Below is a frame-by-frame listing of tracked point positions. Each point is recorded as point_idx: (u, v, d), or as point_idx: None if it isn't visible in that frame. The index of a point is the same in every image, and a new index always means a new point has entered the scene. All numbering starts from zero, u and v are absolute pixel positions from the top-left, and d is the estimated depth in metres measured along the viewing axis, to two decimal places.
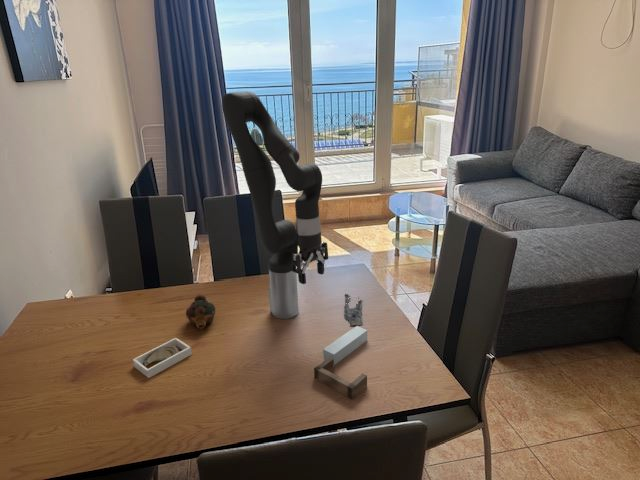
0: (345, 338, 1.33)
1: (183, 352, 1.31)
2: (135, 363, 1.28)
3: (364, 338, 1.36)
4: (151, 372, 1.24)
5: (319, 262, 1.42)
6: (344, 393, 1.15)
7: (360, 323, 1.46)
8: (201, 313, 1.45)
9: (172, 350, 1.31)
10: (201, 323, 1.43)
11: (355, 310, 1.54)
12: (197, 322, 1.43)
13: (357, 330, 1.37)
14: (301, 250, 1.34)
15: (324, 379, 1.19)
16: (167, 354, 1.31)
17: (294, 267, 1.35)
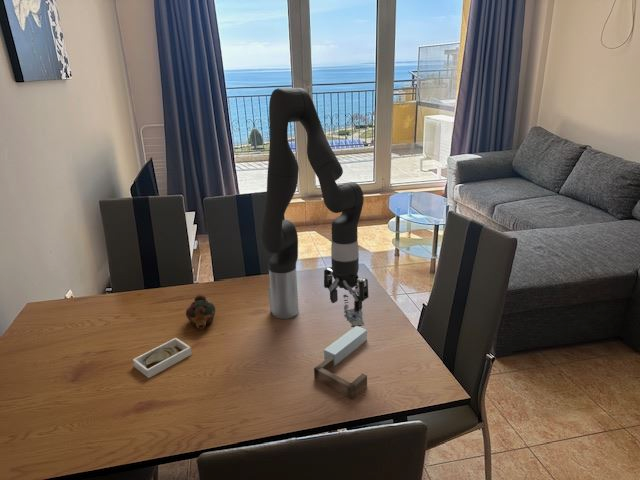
0: (345, 338, 1.33)
1: (183, 352, 1.31)
2: (135, 363, 1.28)
3: (364, 338, 1.37)
4: (151, 372, 1.24)
5: (334, 290, 1.29)
6: (344, 393, 1.15)
7: (361, 323, 1.46)
8: (201, 313, 1.45)
9: (170, 351, 1.31)
10: (201, 323, 1.43)
11: None
12: (197, 322, 1.43)
13: (357, 329, 1.37)
14: (356, 276, 1.22)
15: (324, 379, 1.19)
16: (166, 355, 1.30)
17: None
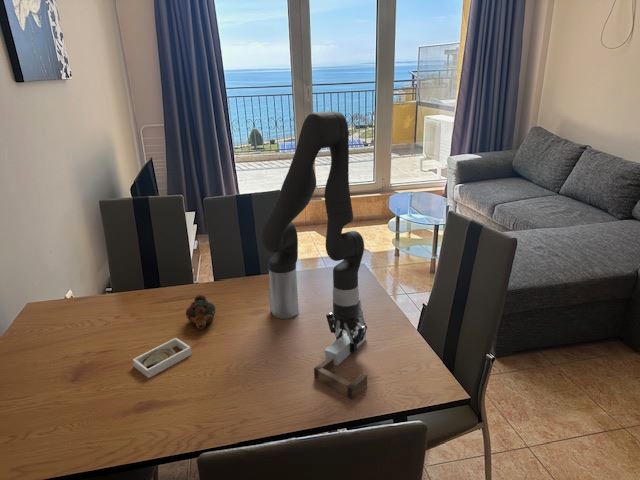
0: (345, 338, 1.33)
1: (183, 352, 1.31)
2: (135, 363, 1.28)
3: None
4: (151, 372, 1.24)
5: (340, 335, 1.33)
6: (344, 393, 1.15)
7: (363, 323, 1.47)
8: (201, 313, 1.45)
9: (169, 352, 1.30)
10: (201, 323, 1.43)
11: None
12: (197, 322, 1.43)
13: None
14: (356, 319, 1.27)
15: (324, 379, 1.19)
16: (164, 356, 1.29)
17: None
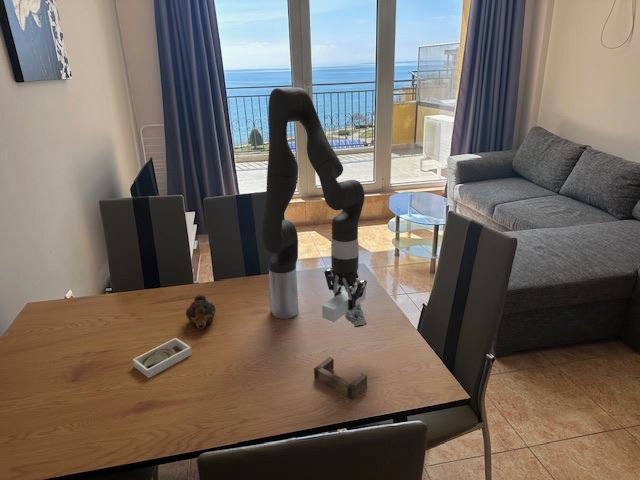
0: (344, 295, 1.27)
1: (183, 352, 1.31)
2: (135, 363, 1.28)
3: (363, 295, 1.31)
4: (151, 372, 1.24)
5: (338, 292, 1.28)
6: (344, 393, 1.15)
7: (364, 323, 1.47)
8: (201, 313, 1.45)
9: (169, 352, 1.30)
10: (201, 323, 1.43)
11: (355, 310, 1.54)
12: (197, 322, 1.43)
13: None
14: (355, 273, 1.22)
15: (324, 379, 1.19)
16: (164, 356, 1.29)
17: None
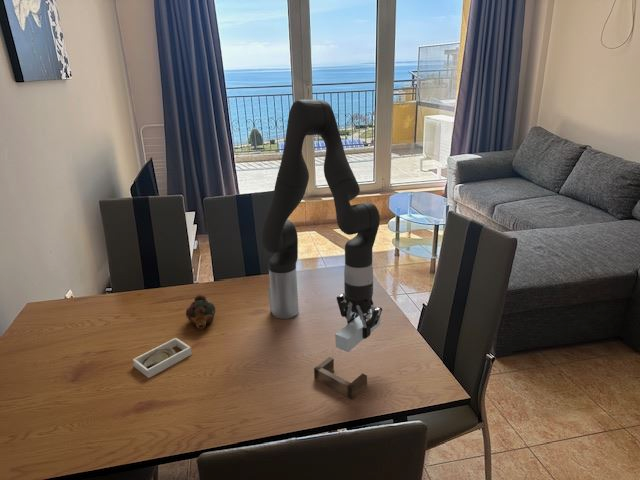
0: (358, 322, 1.21)
1: (183, 352, 1.31)
2: (135, 363, 1.28)
3: None
4: (151, 372, 1.24)
5: (352, 319, 1.22)
6: (344, 393, 1.15)
7: None
8: (201, 313, 1.45)
9: (169, 352, 1.30)
10: (201, 323, 1.43)
11: None
12: (197, 322, 1.43)
13: None
14: (370, 300, 1.15)
15: (324, 379, 1.19)
16: (164, 356, 1.29)
17: None
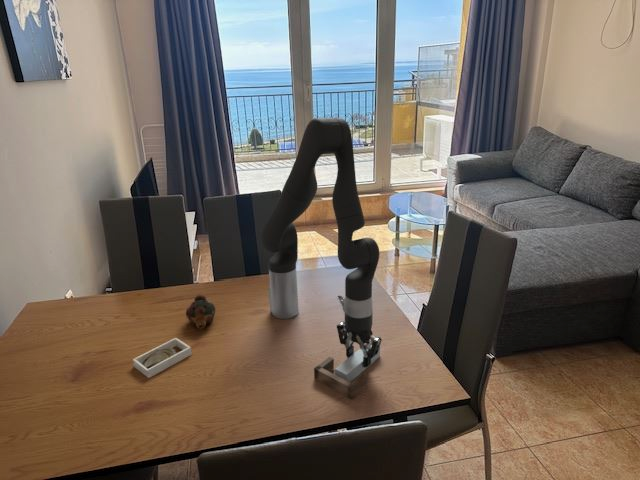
0: (357, 356, 1.25)
1: (183, 352, 1.31)
2: (135, 363, 1.28)
3: (377, 355, 1.29)
4: (151, 372, 1.24)
5: (350, 346, 1.25)
6: (344, 393, 1.15)
7: None
8: (201, 313, 1.45)
9: (169, 352, 1.30)
10: (201, 323, 1.43)
11: None
12: (197, 322, 1.43)
13: None
14: (369, 331, 1.18)
15: (324, 379, 1.19)
16: (164, 356, 1.29)
17: None
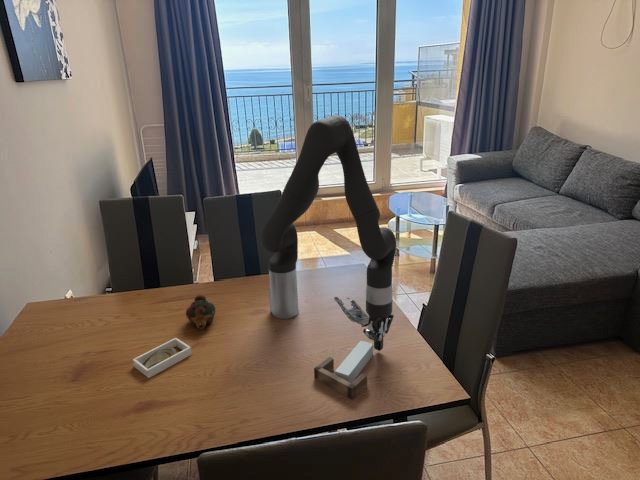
0: (354, 356, 1.24)
1: (183, 352, 1.31)
2: (135, 363, 1.28)
3: (370, 353, 1.29)
4: (151, 372, 1.24)
5: None
6: (344, 393, 1.15)
7: None
8: (201, 313, 1.45)
9: (170, 352, 1.30)
10: (201, 323, 1.43)
11: (356, 310, 1.54)
12: (197, 322, 1.43)
13: (363, 345, 1.29)
14: None
15: (324, 379, 1.19)
16: (165, 356, 1.29)
17: None
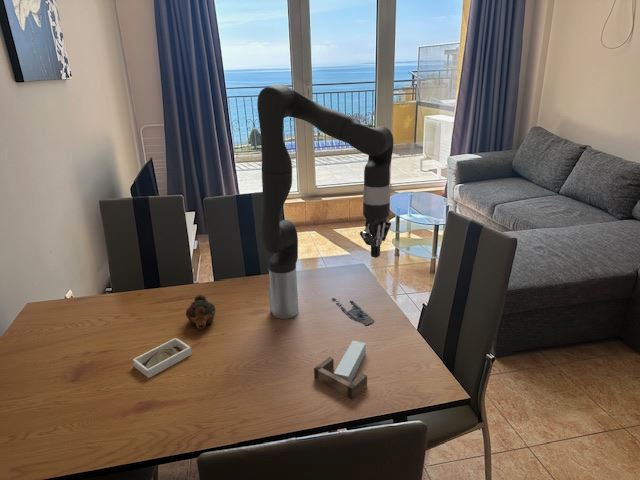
0: (349, 356, 1.24)
1: (183, 352, 1.31)
2: (135, 363, 1.28)
3: (364, 352, 1.30)
4: (151, 372, 1.24)
5: None
6: (344, 393, 1.15)
7: (372, 320, 1.48)
8: (200, 313, 1.45)
9: (170, 352, 1.30)
10: (201, 323, 1.43)
11: (356, 310, 1.54)
12: (197, 322, 1.43)
13: (356, 345, 1.30)
14: None
15: (324, 379, 1.19)
16: (166, 356, 1.29)
17: None
